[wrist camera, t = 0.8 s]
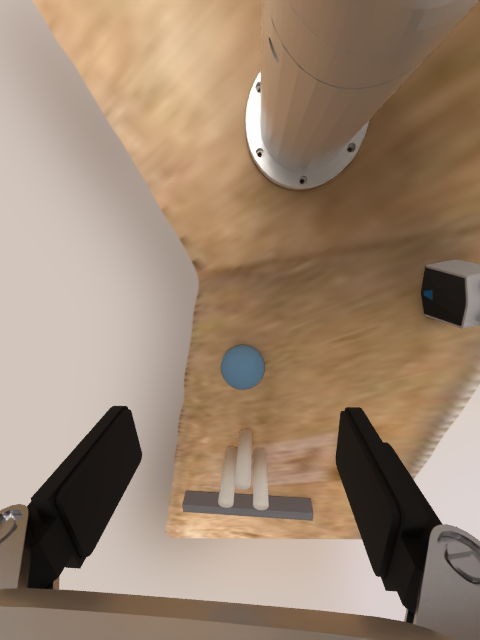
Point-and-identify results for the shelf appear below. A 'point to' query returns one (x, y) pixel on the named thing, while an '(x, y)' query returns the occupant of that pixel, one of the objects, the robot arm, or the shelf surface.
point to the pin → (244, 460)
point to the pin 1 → (228, 478)
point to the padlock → (452, 292)
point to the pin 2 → (260, 480)
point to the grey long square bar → (249, 506)
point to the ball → (242, 367)
